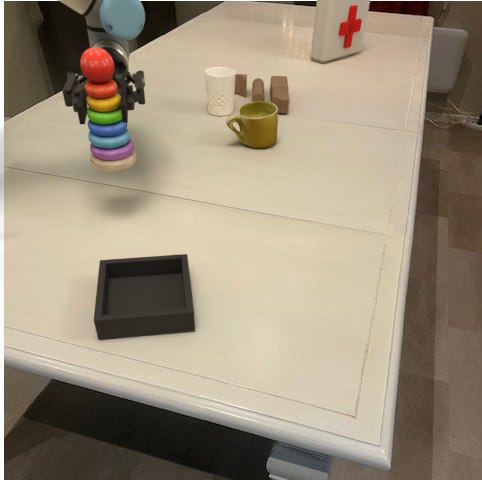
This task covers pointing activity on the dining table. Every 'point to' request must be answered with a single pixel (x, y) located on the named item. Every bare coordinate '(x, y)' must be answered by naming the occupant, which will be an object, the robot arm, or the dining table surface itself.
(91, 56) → the stacking toy
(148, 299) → the socket pad
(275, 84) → the wooden block set
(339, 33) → the bevelled white case
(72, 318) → the dining table surface
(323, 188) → the dining table surface
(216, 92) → the white cup
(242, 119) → the mug
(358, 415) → the dining table surface
